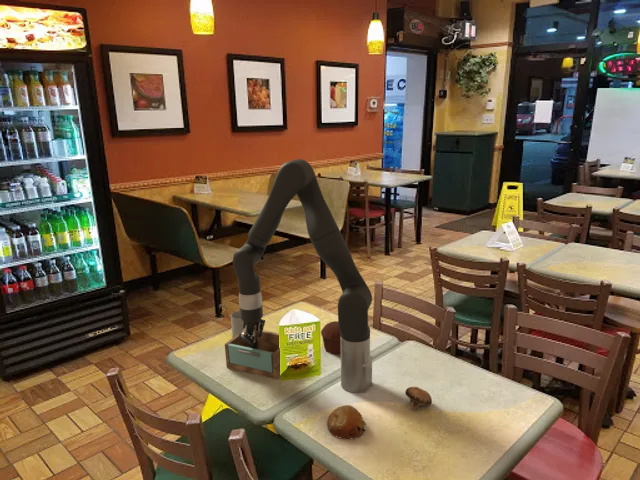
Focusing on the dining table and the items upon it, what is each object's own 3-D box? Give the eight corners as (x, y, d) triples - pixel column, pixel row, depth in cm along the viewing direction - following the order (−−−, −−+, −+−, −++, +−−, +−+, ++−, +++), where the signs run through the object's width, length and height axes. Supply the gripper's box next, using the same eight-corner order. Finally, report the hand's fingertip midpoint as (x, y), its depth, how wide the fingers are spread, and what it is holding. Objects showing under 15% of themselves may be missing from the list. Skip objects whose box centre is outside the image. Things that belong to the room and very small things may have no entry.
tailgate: (274, 370, 157) (272, 352, 155) (270, 374, 155) (269, 355, 153) (232, 360, 164) (230, 343, 162) (228, 364, 162) (226, 346, 160)
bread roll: (348, 426, 138) (338, 400, 138) (375, 425, 131) (364, 398, 131) (326, 444, 130) (316, 416, 131) (354, 444, 123) (343, 415, 124)
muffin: (315, 345, 178) (315, 321, 175) (341, 338, 183) (340, 314, 180) (331, 359, 168) (330, 333, 165) (357, 351, 173) (357, 326, 170)
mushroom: (407, 406, 134) (415, 385, 136) (396, 401, 142) (404, 381, 143) (431, 417, 136) (439, 396, 137) (419, 411, 143) (426, 391, 145)
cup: (252, 343, 181) (250, 319, 178) (230, 343, 181) (229, 319, 179) (255, 333, 189) (254, 310, 186) (235, 333, 189) (233, 310, 187)
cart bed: (296, 359, 168) (295, 336, 166) (276, 379, 156) (275, 354, 153) (248, 349, 176) (247, 327, 174) (226, 367, 164) (224, 343, 162)
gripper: (249, 313, 149) (253, 362, 153) (270, 298, 160) (273, 344, 165) (229, 310, 152) (233, 358, 156) (252, 295, 163) (255, 340, 168)
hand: (254, 351), depth 161 cm, fingers closed
